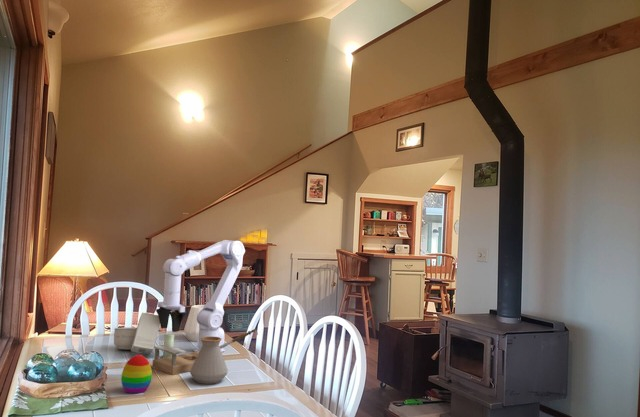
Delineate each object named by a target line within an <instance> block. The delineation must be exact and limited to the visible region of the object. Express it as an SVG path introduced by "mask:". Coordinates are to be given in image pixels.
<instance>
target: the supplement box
mask: <svg viewBox="0 0 640 417" xmlns="http://www.w3.org/2000/svg"><path fill="white" fill-rule="evenodd" d="M160 327H161V325H160V320H159V316H158V314H153V313H147V312H141V314H140V317H139V320H138V322H137V327H136V328H137V330H136V334H135V338H134V341H133V345H132V349H130V352H133V353H138V354H145V355H152V353H153V351H154V350H155V348H154V346H156V343H157V338H158V333H159V329H160Z"/></svg>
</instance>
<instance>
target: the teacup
mask: <svg viewBox="0 0 640 417" xmlns="http://www.w3.org/2000/svg"><path fill="white" fill-rule="evenodd" d="M136 330H137V327H114V332H113V344H114V346H115V347H116V348H117V349H118V350H131V349H132V345H133V341H134V338H135V334H136Z"/></svg>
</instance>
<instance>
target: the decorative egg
mask: <svg viewBox="0 0 640 417" xmlns="http://www.w3.org/2000/svg"><path fill="white" fill-rule="evenodd" d="M151 366H152V365H151V364H150V361H149V360H148V359H147V357H145V356H144V355H142V354H134V355H133V356H132V357H130V358H129V360H127V362H126V363H125V364H124V367H123V369H122V372H121V378H120V380H121V381H120V382H121V387H122V388H123V391H125V392H126V393H129V394H140V393H143V392H145V391H146V390H147V389H148V388H149V386H150V385H151V383H152V379H153V372H152V367H151Z"/></svg>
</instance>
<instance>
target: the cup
mask: <svg viewBox="0 0 640 417" xmlns="http://www.w3.org/2000/svg"><path fill="white" fill-rule="evenodd" d="M204 305H205V304H197V305H196V304H195V305H192V306H191V307H190V310H189V313H188V316H187V319H186V323H185V326H184V329H183V331H184V334H185V335H186V337H187V339H188V340H189V341H192V342H199V323H198V322H197V314H198V313H199V312H200V311H201V310H202V309H203V307H204Z"/></svg>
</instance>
